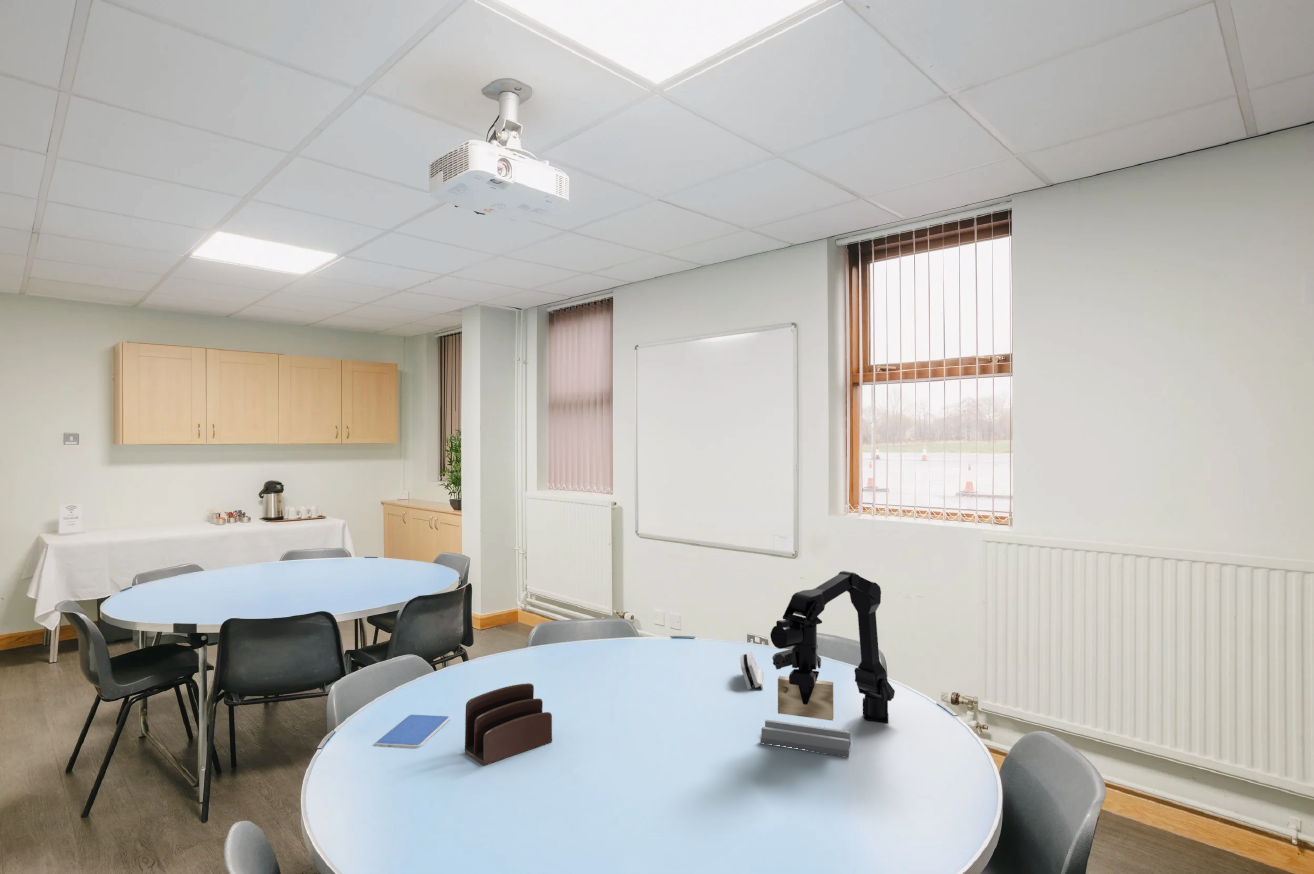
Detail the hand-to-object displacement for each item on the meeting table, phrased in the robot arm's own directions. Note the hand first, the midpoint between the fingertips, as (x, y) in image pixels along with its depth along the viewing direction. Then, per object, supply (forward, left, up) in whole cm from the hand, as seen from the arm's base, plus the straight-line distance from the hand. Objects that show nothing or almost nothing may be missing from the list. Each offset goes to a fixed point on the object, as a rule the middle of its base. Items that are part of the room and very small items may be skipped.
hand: (805, 702), depth 171 cm
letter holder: (+71, +30, -11) cm, 78 cm away
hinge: (+23, -43, -11) cm, 50 cm away
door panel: (0, 0, -3) cm, 3 cm away
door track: (0, 0, -11) cm, 11 cm away
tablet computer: (+100, +30, -11) cm, 105 cm away
